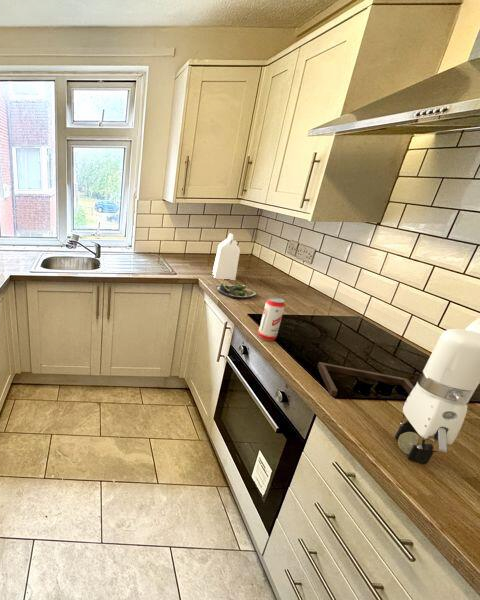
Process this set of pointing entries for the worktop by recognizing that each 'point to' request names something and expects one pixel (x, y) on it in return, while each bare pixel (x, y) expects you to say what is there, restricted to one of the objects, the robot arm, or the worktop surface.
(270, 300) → the beer can
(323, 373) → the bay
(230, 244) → the milk
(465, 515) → the worktop surface
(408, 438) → the pale green round lump
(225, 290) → the salad plate
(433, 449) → the robot arm
